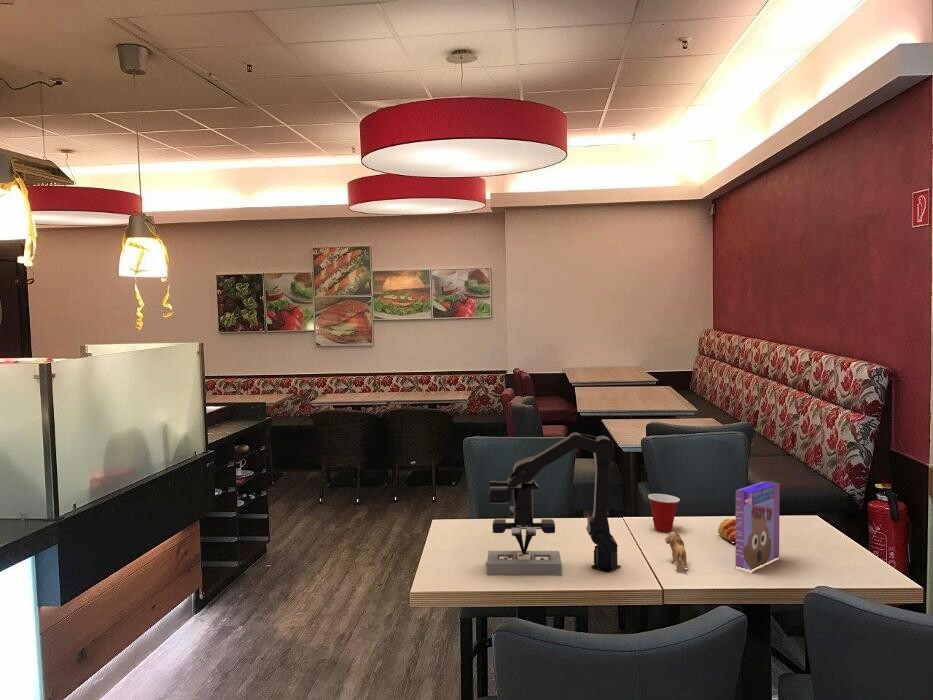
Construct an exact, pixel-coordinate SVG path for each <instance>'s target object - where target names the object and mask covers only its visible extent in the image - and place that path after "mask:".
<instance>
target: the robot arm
mask: <svg viewBox="0 0 933 700" xmlns="http://www.w3.org/2000/svg"><path fill="white" fill-rule="evenodd" d="M577 448H578V449H581V450H584V451H588V452H591V453H593V454H592V455H593V458H594V459H593V460H594V464H595V472H594V473H595V475H594V491H593V492H594V493H593V494H594V496H593V512H592V515H591V516H590V515H589V516H588V515H587V516H586V520H587V526H586V531H587V533H588V536H589V537H590V539H591V542H592V543H594V544H595V546H594V550H593V564H592V565H591V568H593V569H596V570H599V571H601V572H602V571H603V572H606V573H609V572H612V571H615V570H617V569H620V568H621V565H620V564H618V546H619V545H618V543H617V541H616V539H615V538H614V536H613V535H612V533H611V532H610V531H611V530H610V524H609V519H608V500H609V499H608V498H609V480H610V479H609V474H610V468H611V464H612V461H613V457H614V453H615V449H616V448H615V444H614V443H613V442H612V441H611V439H610V438H609V437H607V436H606V435H599V436H593V435H588V434H581V433H579V432H572V433H570V434H569V435H568V436H566V437H564V438H563V439H561V440H559V441H558V442H556V443H555V444H553V445H551V446H549V447H548V448H546V449H545V450H543V451H542V452H540V453H538V454H536V455H533V456H532V455H531V456H529V457H526V458H523V459H521V460H517V462H515V463H514V466H513V468H512V471H513V472H512V473H511V474H510V475H509V477H508V478H507V480H505V481H504V480H503V481H502V480H501V481H499V480H490V481H489V504H490V505H493V504H494V505H495V504H499V505H501V504H502V505H505V504H509V502H510V501H512V499H513V506H512V505H510V506H508V507H509V518H513V522H506V520H507V519H504V518H500V519H499V518H497V519H496V518H495V519H494V520H492V533H493V534H504V533H505V532H506V530H511V536H512V537H515V538H516V540H517V543H518V544H519V548H520V551H522V554H526V551H528V548H529V545H530V543H531V540H532V539H533V537H535V536H537V530H541V531H542V532H543V533H544V534H555V533H556V523H555V520H554V519H552V518H548V519H547V518H544V519H543V518H541V522H534V497H533V496H534V494H533V493H534V492H533V491H534V490H540V489H539V488H540V487H539V485H538V483H537V482H536V481H535V480H534V479H533V478H535V477H537V475H538V474H539V473H540V472H541V471H542V470H543V469H544V468H545V467H547V466H548V465H550V464H551V463H553V462H555V461H557V460H558V459H560V458H561V457H563V456H565V455H567V454H568V453H570V452H571V451H574V450H575V449H577ZM512 491H513V493H512ZM512 494H513V497H512ZM522 530H525V537H524V539H523V532H522Z"/></svg>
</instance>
